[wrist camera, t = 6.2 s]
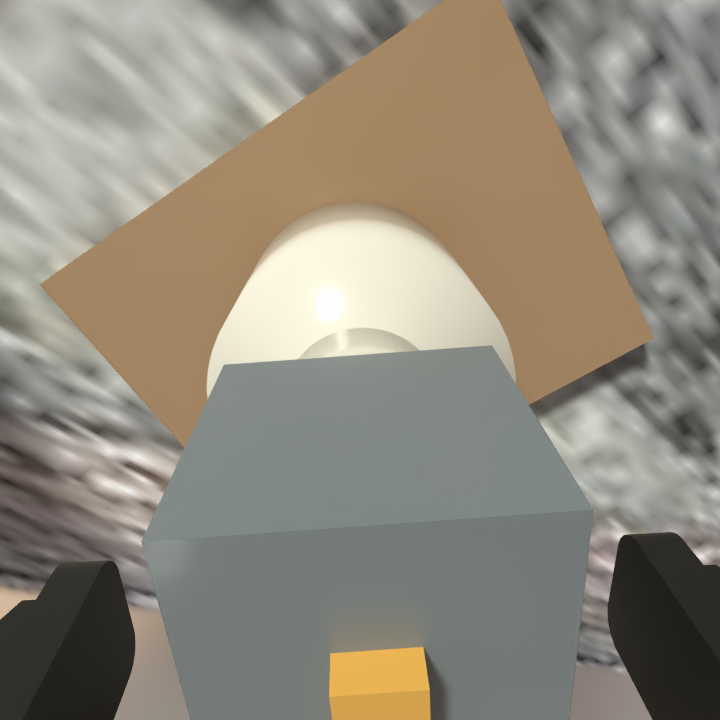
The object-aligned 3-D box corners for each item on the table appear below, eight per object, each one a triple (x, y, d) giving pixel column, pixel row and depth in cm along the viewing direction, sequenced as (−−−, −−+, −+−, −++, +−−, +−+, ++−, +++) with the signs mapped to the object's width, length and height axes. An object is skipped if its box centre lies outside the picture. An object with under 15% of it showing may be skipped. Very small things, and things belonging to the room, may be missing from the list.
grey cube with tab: (223, 364, 11) (122, 580, 6) (492, 345, 11) (615, 546, 6) (260, 571, 13) (208, 861, 8) (487, 555, 13) (575, 836, 8)
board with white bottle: (478, -23, 18) (640, -176, 8) (639, 327, 23) (862, 495, 13) (55, 275, 22) (-191, 419, 12) (272, 525, 27) (228, 777, 17)
